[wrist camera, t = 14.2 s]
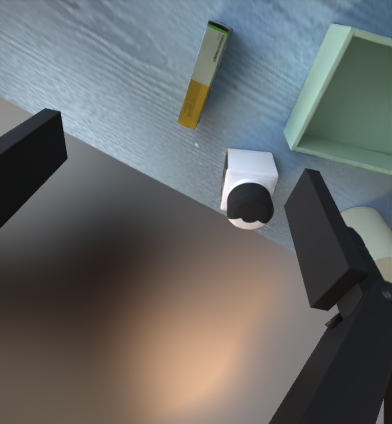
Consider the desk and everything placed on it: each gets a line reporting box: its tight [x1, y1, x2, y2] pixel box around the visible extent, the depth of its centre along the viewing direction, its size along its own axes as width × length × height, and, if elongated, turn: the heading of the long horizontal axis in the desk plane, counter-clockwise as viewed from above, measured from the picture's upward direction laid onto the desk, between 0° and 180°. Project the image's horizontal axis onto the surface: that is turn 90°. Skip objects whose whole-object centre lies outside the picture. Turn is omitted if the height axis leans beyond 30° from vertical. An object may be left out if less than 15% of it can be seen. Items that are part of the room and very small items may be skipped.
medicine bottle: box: [221, 148, 278, 229], centre depth 38 cm, size 7×7×12 cm
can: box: [340, 206, 392, 283], centre depth 43 cm, size 9×9×12 cm
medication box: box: [177, 20, 233, 129], centre depth 33 cm, size 12×3×4 cm, turn 161°
